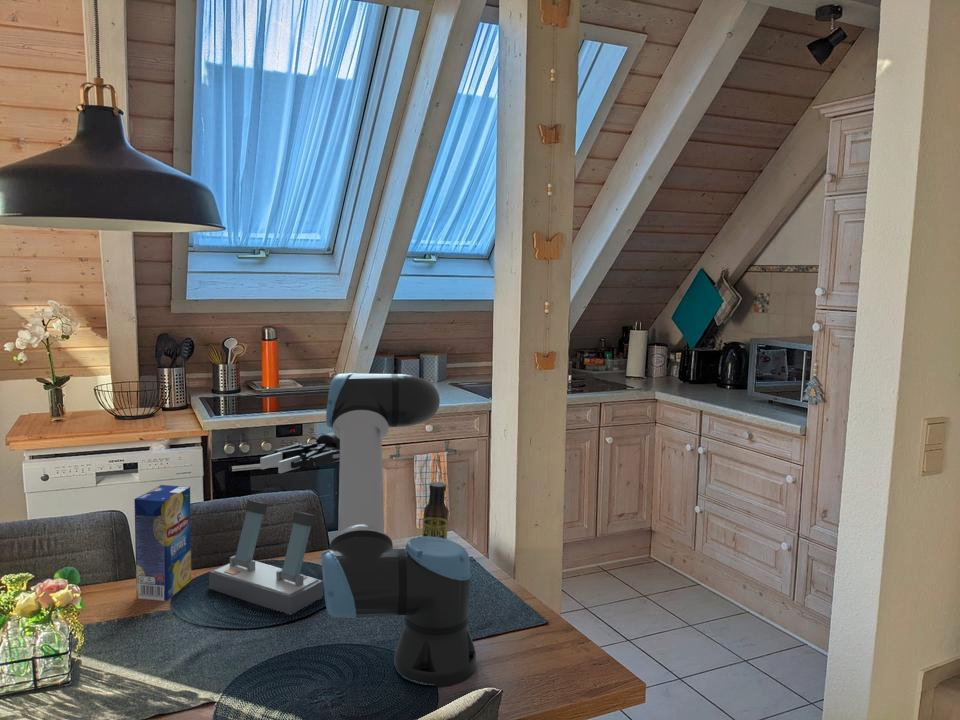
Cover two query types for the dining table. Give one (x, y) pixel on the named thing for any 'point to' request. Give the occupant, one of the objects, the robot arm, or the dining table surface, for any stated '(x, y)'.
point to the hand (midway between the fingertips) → (270, 465)
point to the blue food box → (162, 542)
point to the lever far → (250, 532)
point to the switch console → (265, 586)
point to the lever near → (297, 545)
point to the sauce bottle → (436, 512)
